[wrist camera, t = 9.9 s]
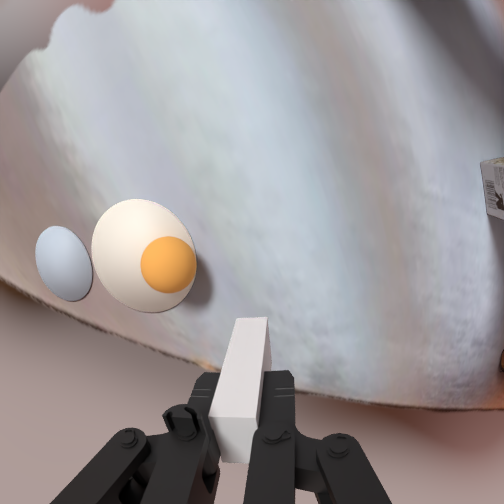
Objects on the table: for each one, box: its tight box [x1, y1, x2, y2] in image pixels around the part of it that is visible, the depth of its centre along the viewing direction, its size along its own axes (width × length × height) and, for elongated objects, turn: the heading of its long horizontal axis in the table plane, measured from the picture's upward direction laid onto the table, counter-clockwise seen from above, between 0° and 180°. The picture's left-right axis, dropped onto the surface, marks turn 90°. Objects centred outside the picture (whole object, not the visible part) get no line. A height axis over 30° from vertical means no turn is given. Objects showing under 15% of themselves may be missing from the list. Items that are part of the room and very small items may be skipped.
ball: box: [140, 236, 197, 293], centre depth 29 cm, size 6×6×6 cm
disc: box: [92, 199, 197, 312], centre depth 32 cm, size 13×13×1 cm
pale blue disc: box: [36, 226, 92, 301], centre depth 34 cm, size 10×10×1 cm
